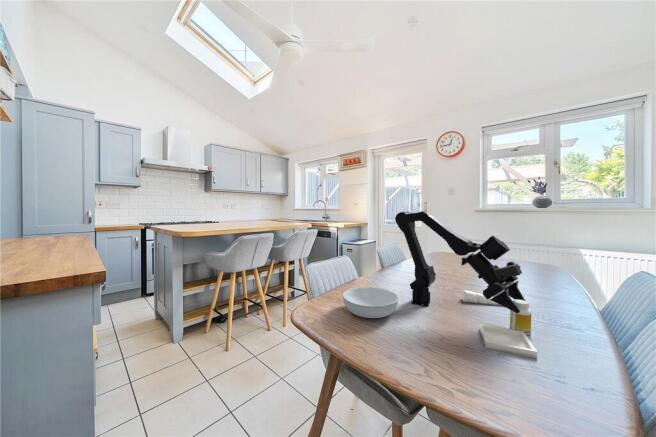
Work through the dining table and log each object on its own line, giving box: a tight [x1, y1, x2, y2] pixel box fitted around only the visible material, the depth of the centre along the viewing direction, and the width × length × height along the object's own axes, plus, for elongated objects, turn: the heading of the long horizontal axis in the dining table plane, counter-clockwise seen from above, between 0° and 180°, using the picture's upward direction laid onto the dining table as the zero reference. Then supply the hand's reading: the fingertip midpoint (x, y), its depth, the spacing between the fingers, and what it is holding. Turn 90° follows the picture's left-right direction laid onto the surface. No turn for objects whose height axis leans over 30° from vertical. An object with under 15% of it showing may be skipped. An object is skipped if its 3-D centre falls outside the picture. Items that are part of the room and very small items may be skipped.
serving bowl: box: [342, 286, 399, 319], centre depth 93 cm, size 21×21×7 cm
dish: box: [479, 323, 538, 359], centre depth 72 cm, size 12×12×2 cm
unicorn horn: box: [461, 289, 501, 306], centre depth 100 cm, size 5×24×5 cm, turn 67°
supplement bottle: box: [509, 299, 532, 336], centre depth 79 cm, size 5×5×10 cm
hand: (522, 308), depth 78 cm, fingers open, 9 cm apart
